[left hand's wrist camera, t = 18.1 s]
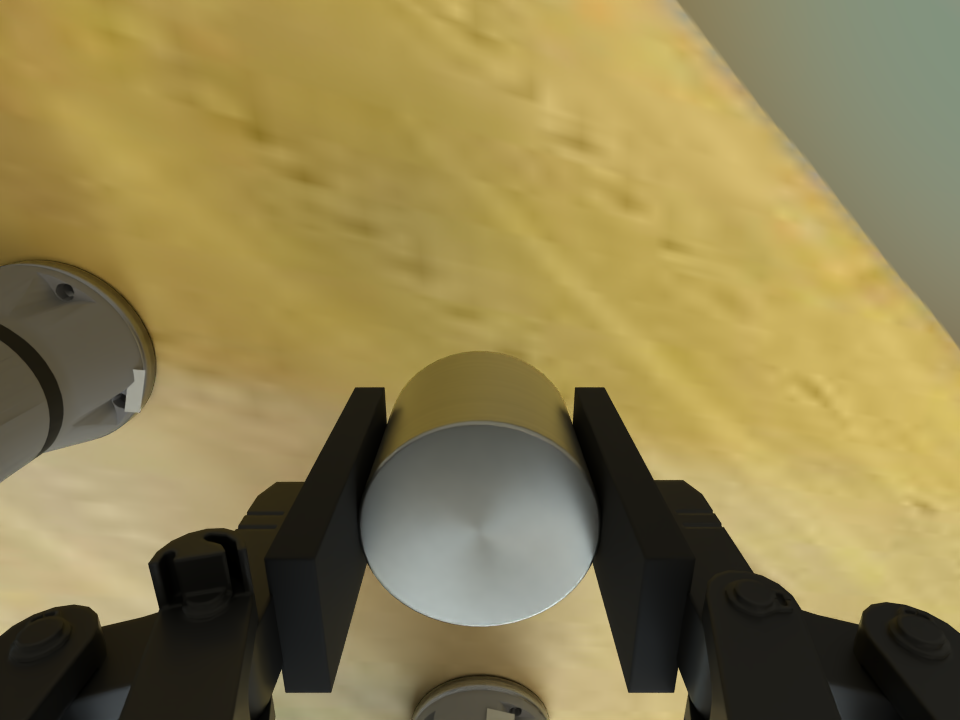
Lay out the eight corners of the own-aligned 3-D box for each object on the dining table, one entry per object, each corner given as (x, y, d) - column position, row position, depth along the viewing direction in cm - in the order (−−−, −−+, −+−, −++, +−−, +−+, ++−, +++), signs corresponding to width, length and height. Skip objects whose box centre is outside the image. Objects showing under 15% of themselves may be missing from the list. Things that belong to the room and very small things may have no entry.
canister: (603, 459, 15) (645, 561, 11) (455, 540, 16) (447, 661, 12) (508, 314, 14) (519, 374, 10) (352, 412, 15) (306, 502, 11)
